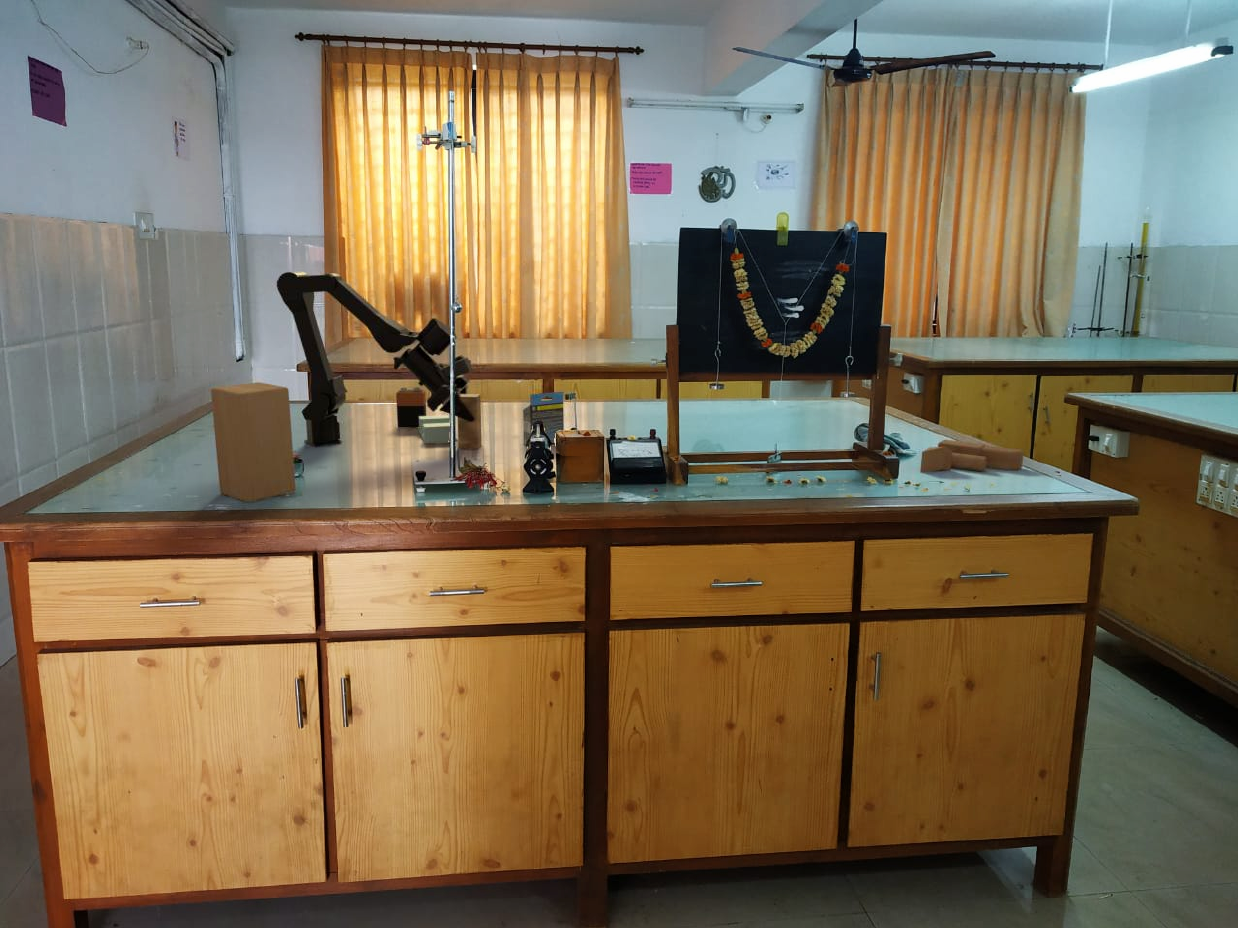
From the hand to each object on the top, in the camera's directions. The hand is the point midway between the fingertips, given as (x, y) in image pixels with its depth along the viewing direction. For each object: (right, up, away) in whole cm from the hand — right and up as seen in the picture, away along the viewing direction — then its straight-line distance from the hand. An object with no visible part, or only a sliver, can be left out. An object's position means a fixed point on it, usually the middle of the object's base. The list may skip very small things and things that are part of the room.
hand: (475, 418), depth 217 cm
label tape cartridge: (+15, -6, +6) cm, 17 cm away
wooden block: (-35, -16, -39) cm, 55 cm away
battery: (-20, -1, +24) cm, 31 cm away
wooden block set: (+107, -12, -15) cm, 109 cm away
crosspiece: (-11, -4, +12) cm, 16 cm away
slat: (-1, -6, +2) cm, 7 cm away
